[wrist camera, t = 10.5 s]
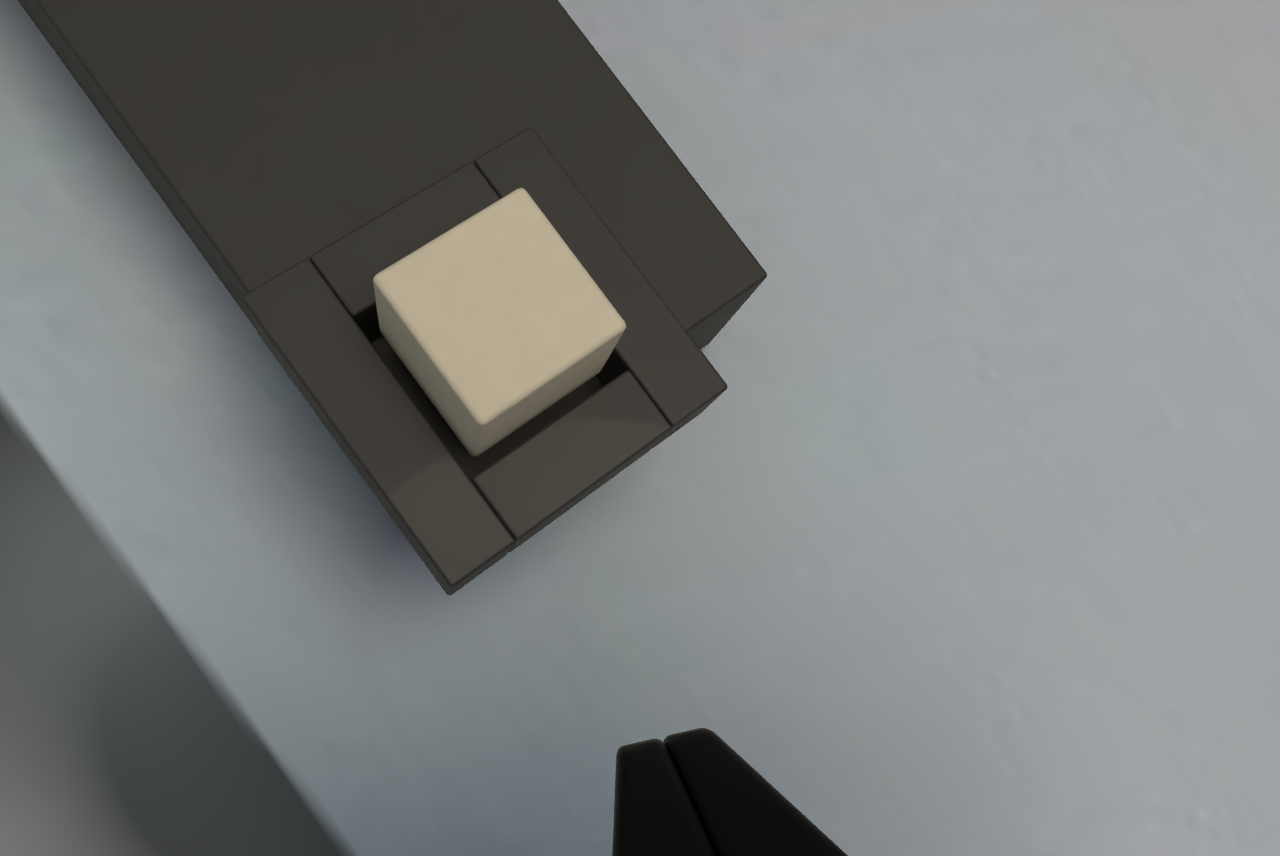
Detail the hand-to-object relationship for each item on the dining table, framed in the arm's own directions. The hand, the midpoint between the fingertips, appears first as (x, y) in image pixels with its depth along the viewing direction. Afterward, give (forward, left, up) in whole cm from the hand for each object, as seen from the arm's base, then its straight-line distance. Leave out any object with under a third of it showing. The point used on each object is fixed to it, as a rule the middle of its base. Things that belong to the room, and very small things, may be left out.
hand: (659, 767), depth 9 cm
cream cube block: (+3, +5, -7) cm, 9 cm away
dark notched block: (+4, +13, -12) cm, 19 cm away
